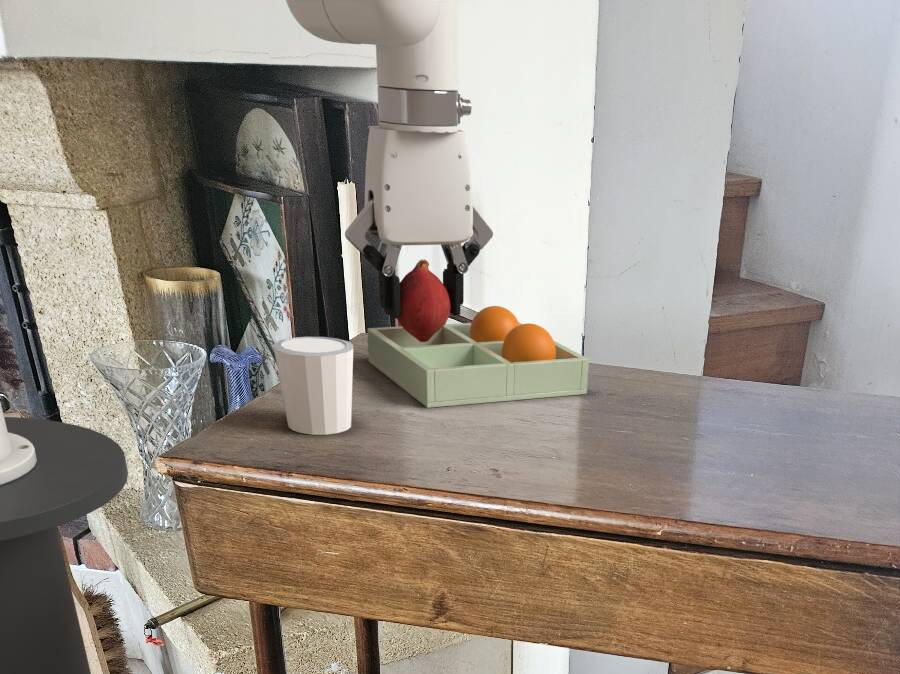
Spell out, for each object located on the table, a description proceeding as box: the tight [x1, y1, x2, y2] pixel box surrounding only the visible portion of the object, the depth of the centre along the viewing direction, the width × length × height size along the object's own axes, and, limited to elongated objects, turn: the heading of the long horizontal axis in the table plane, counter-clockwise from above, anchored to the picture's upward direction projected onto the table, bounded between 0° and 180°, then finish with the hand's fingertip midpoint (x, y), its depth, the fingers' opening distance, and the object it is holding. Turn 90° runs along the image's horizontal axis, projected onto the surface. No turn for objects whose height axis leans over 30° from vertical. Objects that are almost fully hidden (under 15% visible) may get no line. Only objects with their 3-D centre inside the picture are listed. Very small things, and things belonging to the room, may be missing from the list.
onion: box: [396, 259, 451, 342], centre depth 107 cm, size 6×6×8 cm
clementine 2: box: [502, 322, 556, 363], centre depth 107 cm, size 6×6×6 cm
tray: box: [366, 322, 590, 409], centre depth 109 cm, size 18×18×4 cm
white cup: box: [273, 336, 354, 436], centre depth 92 cm, size 7×7×7 cm
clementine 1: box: [470, 305, 520, 342], centre depth 113 cm, size 6×6×6 cm
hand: (422, 312), depth 108 cm, fingers closed on onion, 5 cm apart
